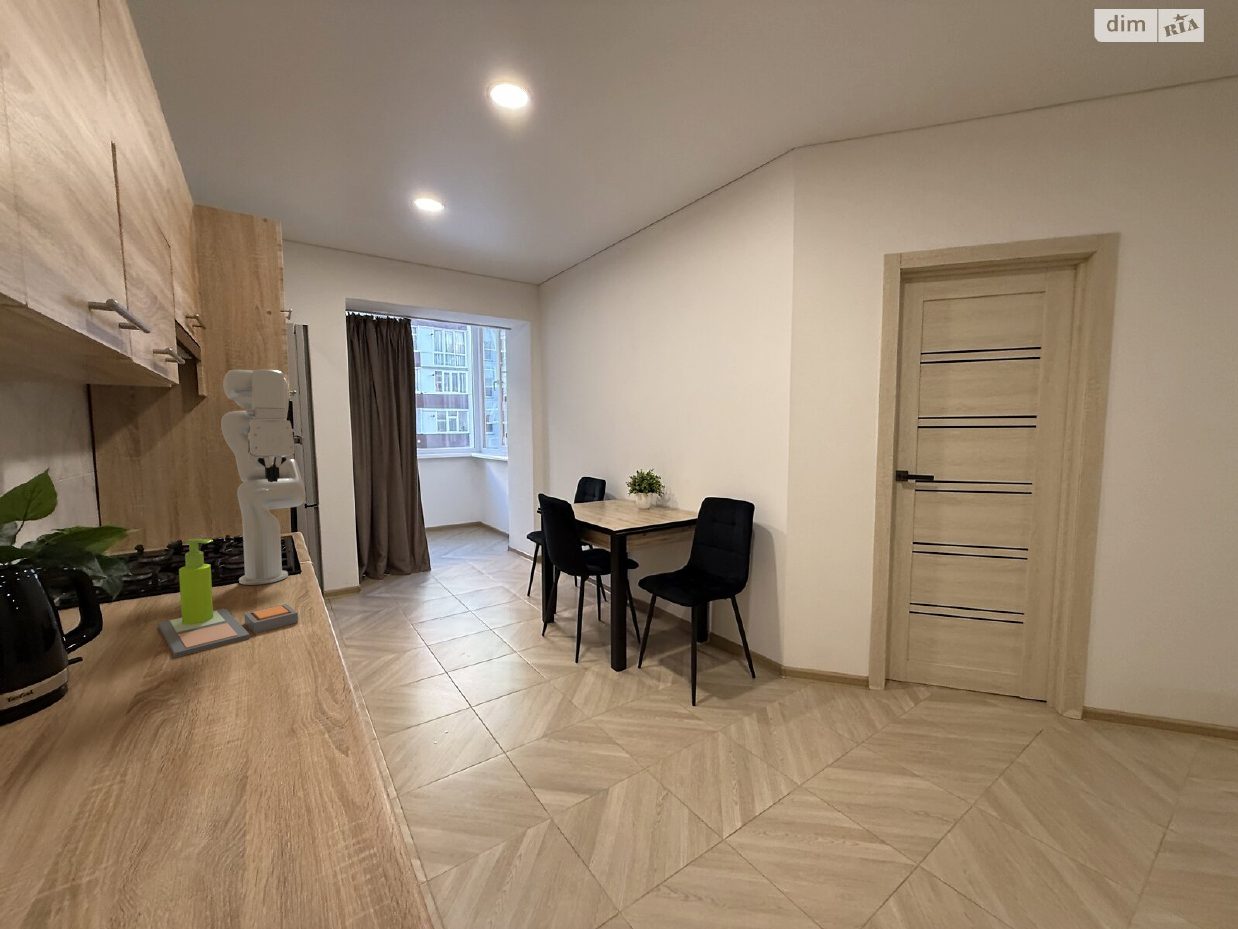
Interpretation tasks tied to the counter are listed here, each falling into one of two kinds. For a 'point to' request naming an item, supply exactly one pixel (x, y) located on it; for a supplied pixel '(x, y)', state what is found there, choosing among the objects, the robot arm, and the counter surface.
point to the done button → (270, 613)
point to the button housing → (271, 620)
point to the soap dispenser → (196, 585)
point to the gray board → (202, 633)
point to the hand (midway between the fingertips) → (272, 481)
